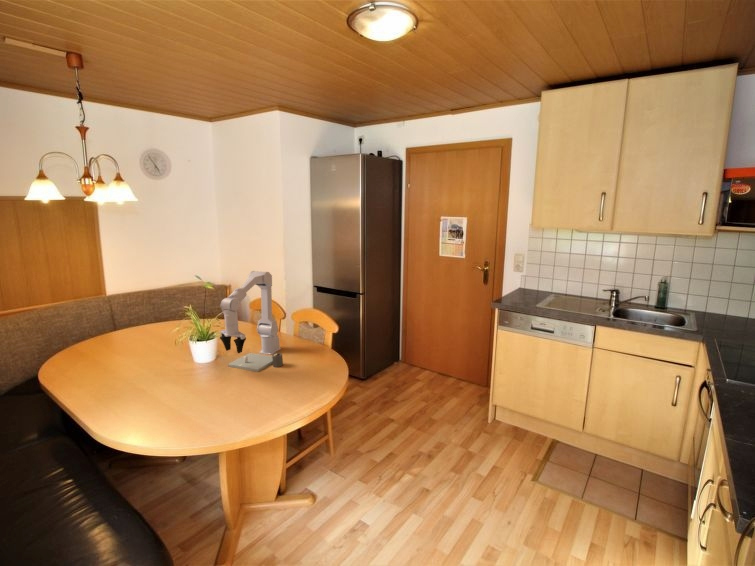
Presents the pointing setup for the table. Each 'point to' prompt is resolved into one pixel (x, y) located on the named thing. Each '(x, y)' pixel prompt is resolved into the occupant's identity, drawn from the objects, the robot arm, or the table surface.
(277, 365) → the knob
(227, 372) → the table surface
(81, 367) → the table surface
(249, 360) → the grey square plate
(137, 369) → the table surface
